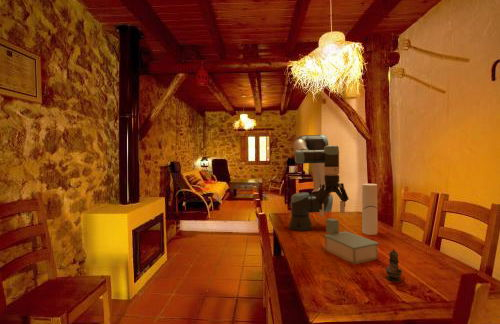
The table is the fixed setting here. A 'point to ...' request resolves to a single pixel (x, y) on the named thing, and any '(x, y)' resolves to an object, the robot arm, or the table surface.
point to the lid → (346, 236)
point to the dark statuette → (393, 268)
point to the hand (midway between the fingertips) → (332, 214)
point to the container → (369, 209)
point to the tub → (351, 252)
